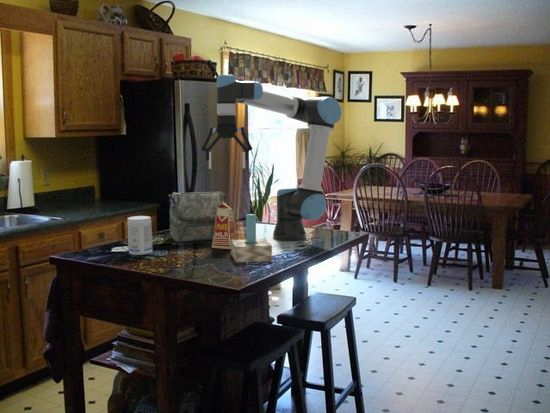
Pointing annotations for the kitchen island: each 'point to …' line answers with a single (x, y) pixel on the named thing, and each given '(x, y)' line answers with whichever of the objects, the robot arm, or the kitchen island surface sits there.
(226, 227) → the milk carton
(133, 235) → the supplement tub
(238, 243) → the bore block
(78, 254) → the kitchen island surface
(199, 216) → the lunch bag
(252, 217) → the dowel
